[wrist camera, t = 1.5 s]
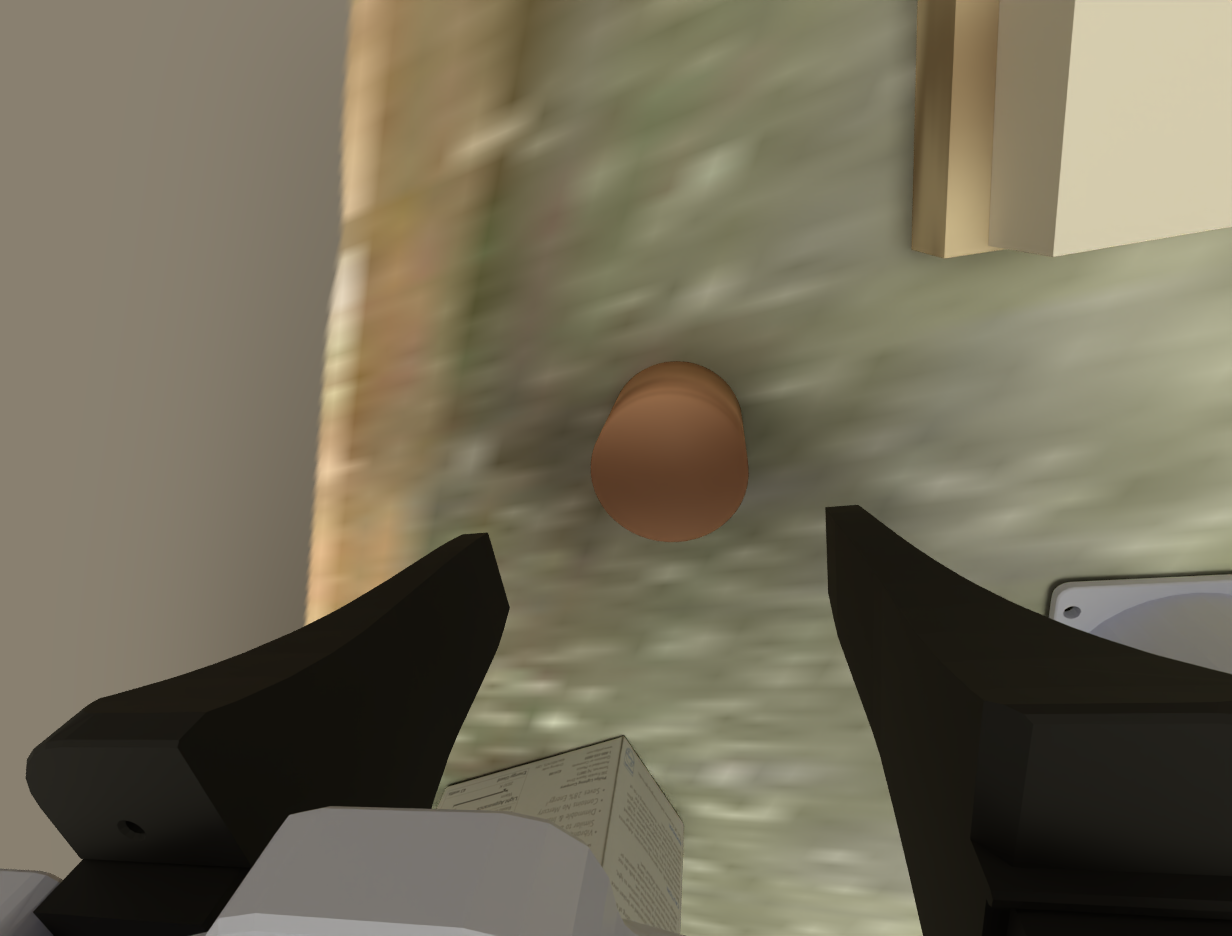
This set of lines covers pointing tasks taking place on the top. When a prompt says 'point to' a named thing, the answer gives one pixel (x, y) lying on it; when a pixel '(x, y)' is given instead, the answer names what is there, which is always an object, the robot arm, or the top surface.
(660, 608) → the top surface
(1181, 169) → the tower top
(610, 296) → the top surface
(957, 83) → the tower base
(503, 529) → the top surface
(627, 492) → the cylinder
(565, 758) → the light bulb box
